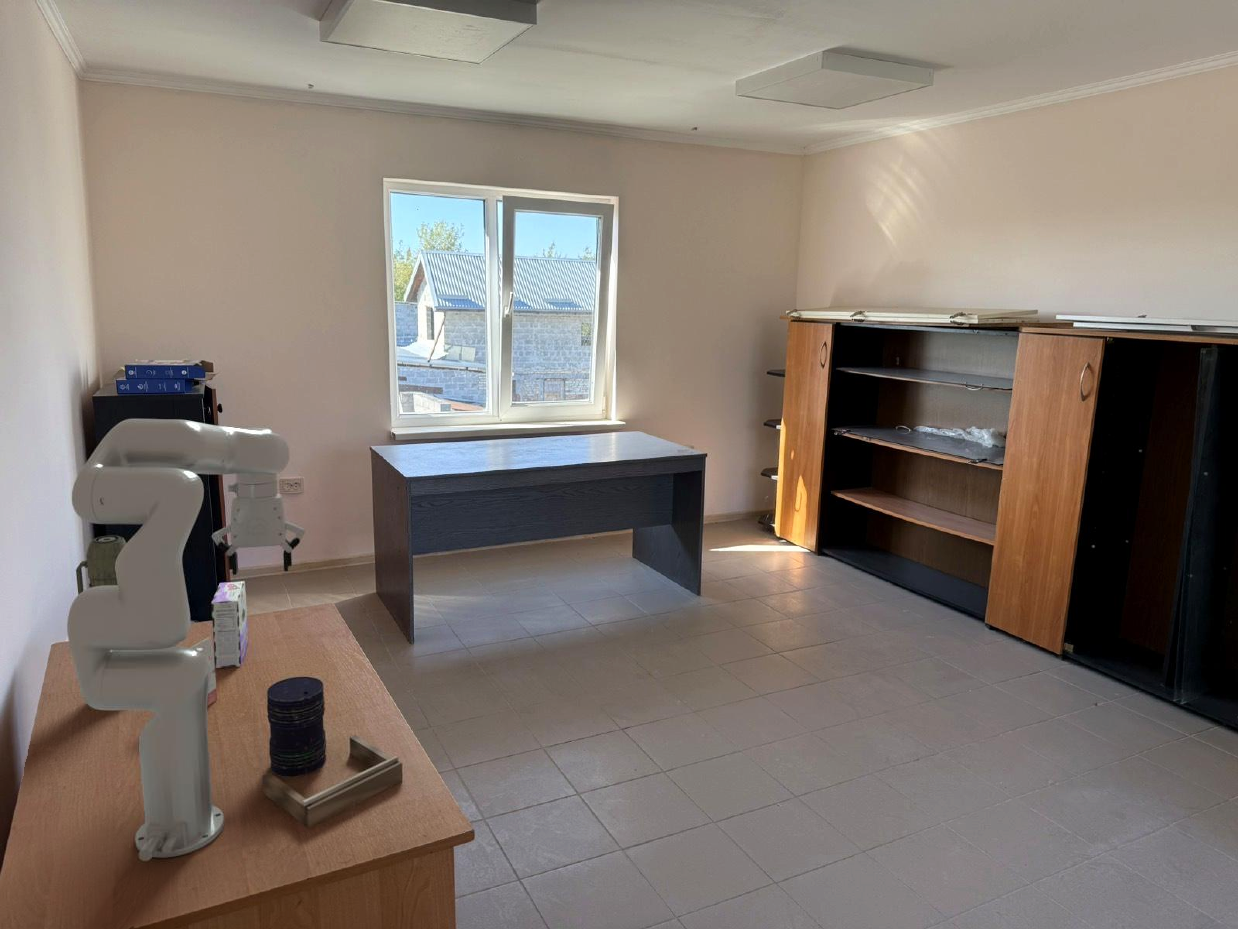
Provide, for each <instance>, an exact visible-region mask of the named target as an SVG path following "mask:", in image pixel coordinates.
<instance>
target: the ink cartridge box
mask: <svg viewBox="0 0 1238 929" xmlns="http://www.w3.org/2000/svg"><path fill="white" fill-rule="evenodd" d="M190 648H194V649H197V650H199V651H201V652H203V653H204V654H205V655H206V656H207V658H208V660H209V662H210V682H209V689H208V698H207V708H208V707H210V705H212V704H214V703H215V702H216V701H217V700H218V695H217V681H216V679H217V678H216V668H215V656H214V646H213V642H212V637H211V636H208V637H207V638H205V639H203V640H201V641H200V642H197V643H196V644H194V645H192V646H191V647H190Z"/></svg>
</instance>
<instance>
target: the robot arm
mask: <svg viewBox="0 0 1238 929" xmlns="http://www.w3.org/2000/svg"><path fill="white" fill-rule="evenodd" d="M290 454H291V453H290V448H289V444H288V442H287V441H286V439H285V438H284V437H283V436H282V435H280V434H278V433H274V432H273V430H271V429H269V428H266V427H247V428H236V427H229V426H223V425H222V426H221V425H216V424H215V425H214V424H209V423H203V422H197V421H193V420H187V419H176V418H175V419H166V418H165V419H161V418H160V419H158V418H127V419H124V420H122V421H120V422H118V423H117V424H116V425H115V426H113V427H112V428H111V429H110V430H109V432H107V434H105V436H104V437H103V438H102V439H101V441H100V442H99V444H98V445H97V446H96V448H94V451H93V452H92V453H91V455H90V457H89V458H88V460H87V461H86V462H85V464H84V465H83V466H82V468H81V469H80V471H79V472H78V475H77V476H76V478H75V481H74V483H73V487H72V489H71V504H72V507H73V510H74V512H75V513H76V514H77V516H78V517H80V518H81V519H82V520H83V521H86V522H88V523H90V524H96V525H97V524H98V525H142V526H141V527H140V528H139V530H137V532H136V533H135V534H133V535H132V537H131V538H130V539H129V540H128V541H126V545H125V546H124V547H123V549H122V550H121V552H120V553H119V555H118V557H117V559H116V563H115V571H116V577H117V583H118V585H105V586H95V587H91V588H86V589H84V591H83V592H81V593H80V594H79V595H77V596H76V597H75V598H74V600H73V602H72V603H71V605H70V608H69V610H68V616H67V624H66V629H67V630H66V631H67V637H68V644H69V648H70V653H71V656H72V657H71V658H72V660H73V664H74V670H75V673H76V678H77V682H78V686H79V689H80V692H81V693H80V694H81V696H82V698H83V700H84V701H85V703H86V704H87V705H88V707H90V708H92V709H95V710H97V711H98V710H101V711H145V712H146V711H147V712H148V711H149V712H152V713H153V716H152V717H151V718H150V719H149V720H148V721H147V723H146V724H145V725H144V727H143V728H142V730H141V732H140V734H139V738H138V752H139V761H140V774H141V786H142V795H143V796H142V798H143V808H144V809H143V810H144V823H143V824H141V825H140V827H139V828H138V829H137V831H136V834H135V836H134V837H135V838H134V839H135V847H136V848H137V850H138V851H139V852H138V858H139V859H140V860H141V861H142V862H145V861H146V862H147V861H150V860H151V859H152V858H160V859H161V858H162V859H163V858H164V859H165V858H173V857H178V856H183V855H186V854H189V853H193V852H194V851H197V850H200V849H201V848H203V847H205V846H206V845H208V844H209V843H211V842H212V841H213V840H215V839H217V837H218V836H219V835H220V834H221V832H222V831H223V829H224V825H225V815H224V813H223V811H222V810H221V809H220V808H218V807H217V806H215V805H213V793H212V778H211V776H212V775H211V765H210V764H211V763H210V750H209V748H210V747H209V734H208V707H207V698H208V689H209V682H210V662H209V660H208V658H207V656H206V655H205V654H204V653H203V652H201V651H199V650H197V649H194V648H191V647H189V646H182V645H181V646H180V644H182V642H184V641H185V640H186V638H188V636H189V633H190V630H191V612H190V604H189V598H188V591H187V586H186V585H187V584H186V581H185V580H186V579H185V574H184V567H183V566H184V565H183V554H184V550H185V547H186V543H187V542H188V539H189V536H190V534H191V532H192V529H193V527H194V526H195V523H196V521H197V518H198V516H199V514H200V511H201V508H202V504H203V502H204V494H205V493H204V492H205V489H204V483H203V481H202V479H201V477H200V476H199V475H200V474H201V475H235V482H234V483H233V484H228V486H227V489H228V492H232V493H234V494H235V496H233V497H232V501H231V506H230V524H228V525H227V526H224V527H223V528H221V529H219V530H217V531H214V532H213V533H212V535H211V538H212V540H213V541H214V543H215V545H216V546H217V548H219V550H220V551H222V552H223V553H225V555H226V556H227V557H228V558H227V559H228V570H229V571H232V575H233V576H234V575H235V576H236V575H238V572H239V561H238V560H239V559H238V552H237V550H238V549H239V548H240V549H242V548H243V549H244V548H261V547H277V546H280V547H281V548H282V549H283V553H282V554H283V571H284V572H289V567H292V566H293V562H292V560H293V559H292V557H293V556H292V552H293V550H295V548H296V547H297V546H298V545H299V544H300V542H301V540H302V538H303V536H304V535H305V532H306V529H305V528H303V527H301V526H299V525H296V524H294V523H291V522H289V521H286V513H285V508H284V502H283V499H282V495H281V493H278V477H277V474H281V472H283V471H285V469H286V468H287V466H288V464H289V462H290V461H289V460H290ZM198 474H199V475H198ZM287 530H288V531H290V532H292V533H294V534H296V535H295V536H294V538H292V540H289V539H287ZM228 534H230V543H231V544H229V543H227V542H226V541H225V540H224V538H223V537H224V536H226V535H228Z"/></svg>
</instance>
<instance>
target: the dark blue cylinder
mask: <svg viewBox="0 0 1238 929" xmlns="http://www.w3.org/2000/svg"><path fill="white" fill-rule="evenodd" d="M324 694H325V693H324V682H323V681H322V680H320V679H319V678H317V677H316V678H315V677H311V676H294V677H288V678H285V679H282V680H279V681H277V682H275V683H273V684H271V685H270V686H269V688H267V691H266V696H267V697H266V698H267V699H266V700H267V701H266V703H267V704H266V710H267V720H268V723H269V730H270V732H269V734H270V737H269V743H268V744H269V751H268V752H269V758H270V769H271V772H272V773H273V774H274V775H276V776H279V777H283V778H298V777H299V778H300V777H302V776H303V777H304V776H307V775H310V774H313V773H315V772H316V771H318V770H320V769H321V768H322V767H323V766H325V764H326V761H327V754H326V751H327V749H326V748H327V739H326V737H327V736H326V731H325V728H324V716H325V712H326V708H325V703H326V702H325V696H324Z"/></svg>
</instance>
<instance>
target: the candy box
mask: <svg viewBox="0 0 1238 929" xmlns="http://www.w3.org/2000/svg"><path fill="white" fill-rule="evenodd" d="M246 592H247V590H246V582H245V580H243V581H242V580H241V581H240V580H239V581H229V582H220V583H219V585H218V587H217V589H216V592H215V594H214V596H213V598H212V601H211V603H210V605H211V617H212V636H213V651H214V664H215V669H226V668H238V667H242V665H243V662H244V659H245V655H246V653H247V652H246V651H247V648H248V645H249V628H248V626H249V625H248V611H247V610H248V608H247V594H246Z"/></svg>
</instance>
